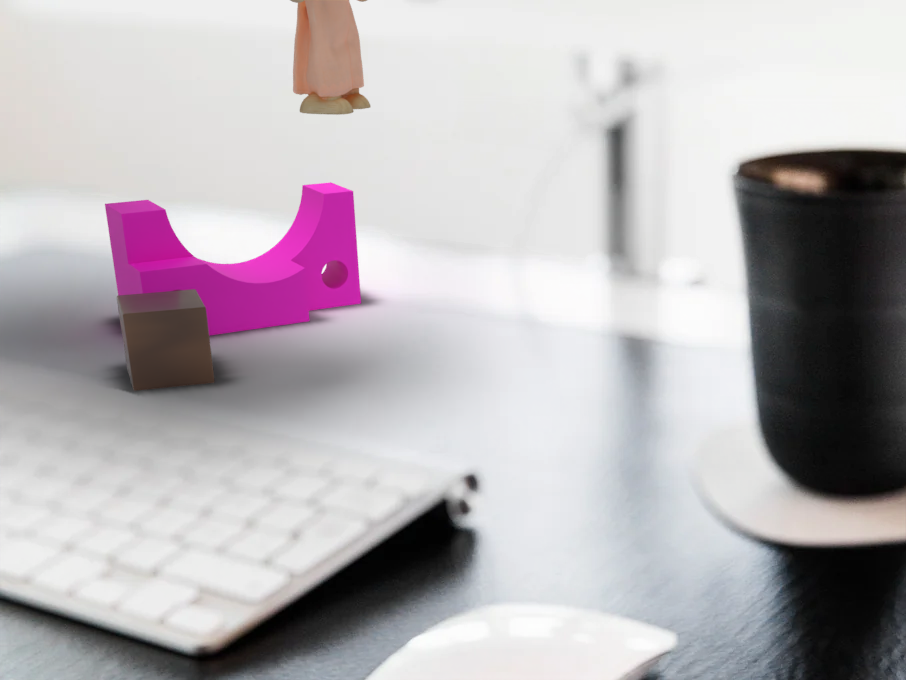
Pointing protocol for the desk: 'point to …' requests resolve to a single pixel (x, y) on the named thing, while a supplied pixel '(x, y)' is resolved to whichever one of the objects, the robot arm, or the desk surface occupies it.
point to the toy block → (245, 263)
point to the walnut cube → (165, 339)
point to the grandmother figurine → (327, 58)
